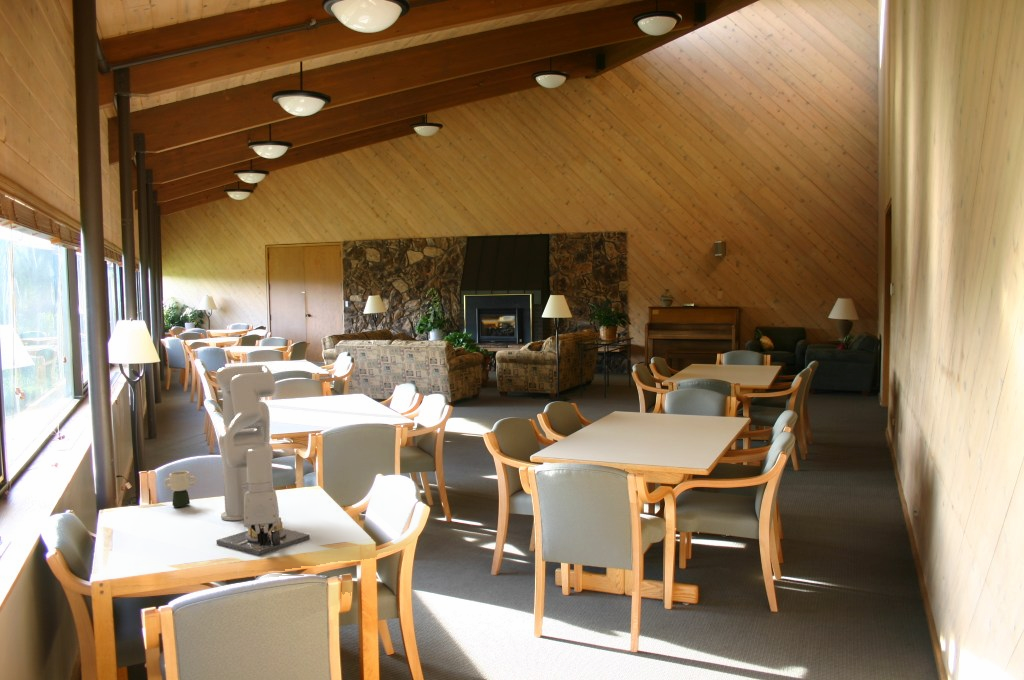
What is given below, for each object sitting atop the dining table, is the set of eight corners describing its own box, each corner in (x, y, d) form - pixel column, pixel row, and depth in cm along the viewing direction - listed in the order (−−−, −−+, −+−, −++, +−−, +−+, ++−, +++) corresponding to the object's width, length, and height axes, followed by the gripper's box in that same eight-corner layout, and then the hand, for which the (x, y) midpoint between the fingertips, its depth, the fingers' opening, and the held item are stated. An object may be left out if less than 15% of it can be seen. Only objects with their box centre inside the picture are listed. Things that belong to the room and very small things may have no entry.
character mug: (197, 502, 334) (195, 469, 334) (195, 507, 328) (193, 473, 327) (167, 505, 331) (165, 472, 330) (165, 510, 325) (163, 476, 324)
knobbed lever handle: (245, 532, 283) (245, 519, 283) (277, 527, 288) (276, 514, 288) (260, 548, 265) (259, 534, 265) (293, 542, 270) (293, 528, 270)
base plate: (267, 529, 295) (266, 504, 294) (309, 539, 282) (308, 513, 281) (216, 544, 279) (215, 518, 278) (258, 556, 266) (257, 529, 265)
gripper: (233, 491, 261) (236, 550, 263) (283, 488, 264) (286, 546, 265) (237, 485, 269) (240, 542, 270) (286, 482, 271) (288, 539, 273)
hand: (263, 544), depth 268 cm, fingers closed
